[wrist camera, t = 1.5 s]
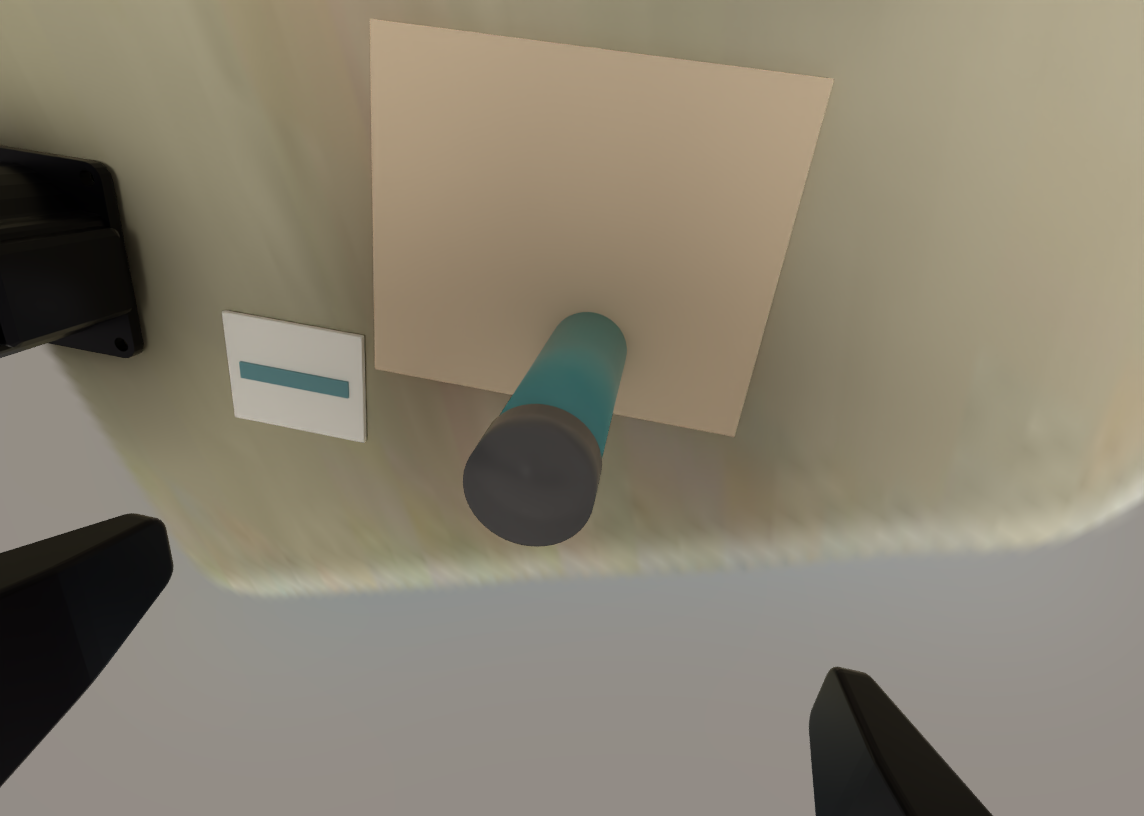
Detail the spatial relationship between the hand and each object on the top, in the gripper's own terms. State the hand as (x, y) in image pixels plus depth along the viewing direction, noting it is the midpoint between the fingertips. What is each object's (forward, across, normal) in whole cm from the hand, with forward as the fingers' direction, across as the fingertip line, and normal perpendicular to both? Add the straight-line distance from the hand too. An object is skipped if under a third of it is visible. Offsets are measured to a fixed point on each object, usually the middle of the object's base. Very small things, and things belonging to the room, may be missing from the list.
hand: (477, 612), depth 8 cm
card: (+12, +10, +3) cm, 16 cm away
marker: (+12, 0, 0) cm, 12 cm away
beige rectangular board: (+12, +1, -3) cm, 12 cm away
